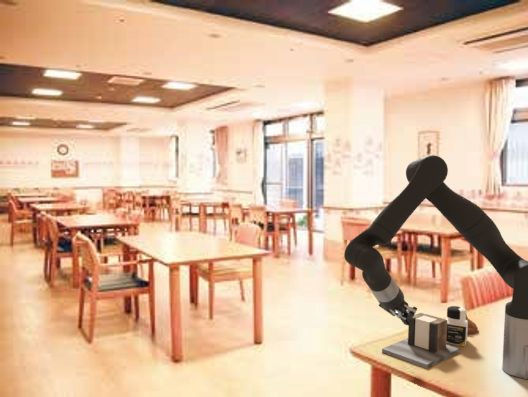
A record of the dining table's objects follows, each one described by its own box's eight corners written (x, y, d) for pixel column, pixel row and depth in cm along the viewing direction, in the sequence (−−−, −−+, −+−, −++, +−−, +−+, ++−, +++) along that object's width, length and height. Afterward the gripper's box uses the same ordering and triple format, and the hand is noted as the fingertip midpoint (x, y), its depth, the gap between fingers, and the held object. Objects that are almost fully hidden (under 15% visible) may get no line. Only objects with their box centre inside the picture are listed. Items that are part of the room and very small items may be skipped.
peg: (428, 349, 152) (429, 322, 152) (414, 345, 156) (415, 318, 155) (436, 346, 156) (437, 319, 155) (422, 341, 159) (423, 315, 159)
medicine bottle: (442, 342, 163) (444, 308, 162) (445, 336, 169) (446, 303, 168) (465, 346, 159) (466, 311, 159) (467, 340, 166) (468, 306, 165)
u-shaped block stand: (426, 368, 142) (428, 334, 141) (382, 352, 154) (383, 320, 153) (459, 352, 155) (460, 320, 154) (415, 338, 167) (416, 309, 166)
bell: (449, 322, 186) (449, 303, 185) (481, 329, 178) (482, 310, 178) (438, 329, 177) (439, 310, 176) (472, 337, 169) (473, 317, 169)
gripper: (411, 284, 136) (432, 317, 145) (373, 276, 146) (395, 307, 155) (400, 306, 133) (422, 338, 142) (362, 296, 143) (385, 327, 152)
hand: (408, 322), depth 148 cm, fingers closed
